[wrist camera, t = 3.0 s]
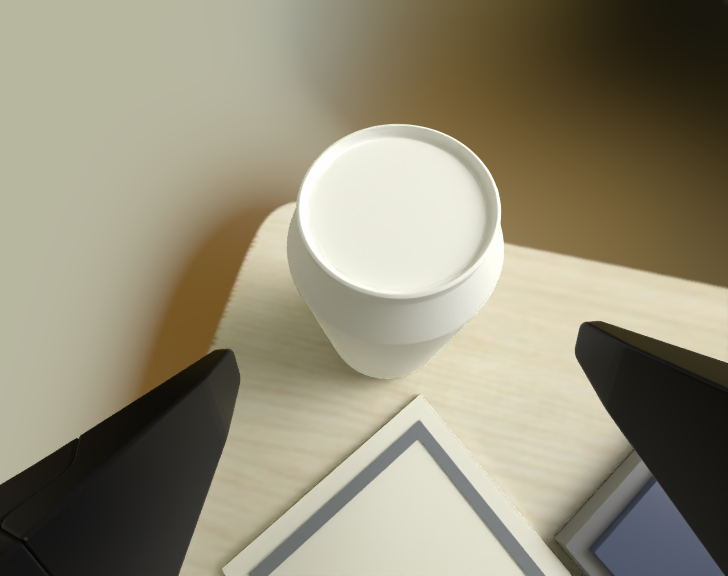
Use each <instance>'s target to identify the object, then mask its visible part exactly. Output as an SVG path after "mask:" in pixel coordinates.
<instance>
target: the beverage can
mask: <svg viewBox="0 0 728 576" xmlns="http://www.w3.org/2000/svg"><path fill="white" fill-rule="evenodd" d="M500 219H501V205H500V198H499V194H498V190H497V187H496V184H495V182H494V180H493V178H492V176H491V174H490V172H489V171H488V169H487V168H486V166H485V165H484V164H483V162H482V161H481V160H480V159H479V158H478V157H477V156H476V155H475V154H474V153H473V152H472V151H471V150H470V149H469V148H467V147H466V146H465V145H463V144H462V143H460V142H459V141H457V140H456V139H454V138H452V137H450V136H448V135H446V134H443V133H441V132H439V131H436V130H433V129H429V128H426V127H421V126H415V125H406V124H389V125H380V126H374V127H370V128H366V129H363V130H359V131H357V132H354V133H352V134H349V135H347V136H345V137H344V138H342V139H340V140H338V141H337V142H335V143H334V144H332V145H331V146H329V147H328V148H327V149H326V150H325V151H323V152H322V153H321V154H320V155H319V157H318V158H317V159H316V160H315V161H314V162H313V164H312V165H311V166H310V168H309V169H308V171H307V173H306V174H305V176H304V178H303V181H302V183H301V186H300V189H299V193H298V198H297V205H296V209H295V212H294V214H293V217H292V219H291V223H290V226H289V231H288V237H287V257H288V263H289V268H290V272H291V275H292V278H293V280H294V283H295V285H296V287H297V289H298V291H299V293H300V294H301V296H302V298H303V299H304V301H305V302H306V304H307V306H308V307H309V309H310V310H311V312H312V314H313V315H314V317H315V318H316V320H317V321H318V323H319V325H320V326H321V328H322V329H323V331H324V332H325V334H326V336H327V337H328V339H329V340H330V342H331V343H332V345H333V347H334V348H335V350H336V351H337V353H338V354H339V355H340V356H341V358H342V359H343V360H344V361H345V362H346V363H347V364H348V365H349V366H350V367H352V368H353V369H355V370H356V371H358V372H360V373H362V374H364V375H366V376H369V377H373V378H378V379H396V378H401V377H405V376H408V375H410V374H412V373H414V372H416V371H418V370H419V369H421V368H422V367H424V366H425V365H426V364H427V363H428V362H429V361H430V360H431V359H432V358H433V357H434V356H435V355H436V354H437V353H438V352H439V351H440V350H441V349H442V348H443V347H444V346H445V345H446V344H447V343H448V342H449V341H450V340H451V339H452V338H453V337H454V336H455V335H456V334H457V333H458V332H459V331H460V330H461V329H462V328H463V327H464V326H465V325H466V324H467V323H468V322H469V321H470V320H471V319H472V318H473V317H474V316H475V315H476V314H477V312H478V311H479V310H480V309H481V308H482V307H483V306H484V304H485V303H486V302H487V300H488V299H489V297H490V296H491V294H492V292H493V290H494V288H495V286H496V284H497V282H498V279H499V276H500V273H501V269H502V264H503V256H504V243H503V235H502V230H501V226H500Z"/></svg>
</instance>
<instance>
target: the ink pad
mask: <svg viewBox="0 0 728 576" xmlns="http://www.w3.org/2000/svg"><path fill="white" fill-rule="evenodd" d="M554 539H555V540H556V541H557V543H558V544H559V545H560V546H561V547H562V548H563V550H564V551H565V552H566V553H567V554H568V556H569V557H570V558H571V559H572V560H573V562H574V563H575V564H576V565H577V566H578V567H579V569H580V570H581V571H582V572H583V573H584V575H585V576H724V574H723V573H722V572H721V570H720V569H719V567H718V566H717V565H716V563H715V562H714V560H713V559H712V558H711V556H710V555H709V553H708V552H707V551H706V549H705V548H704V546H703V545H702V544H701V542H700V541H699V539H698V538H697V537H696V535H695V534H694V532H693V531H692V530H691V528H690V527H689V525H688V524H687V523H686V521H685V520H684V518H683V517H682V516H681V514H680V513H679V511H678V510H677V509H676V507H675V506H674V504H673V503H672V502H671V500H670V499H669V497H668V496H667V495H666V493H665V492H664V490H663V489H662V488H661V486H660V485H659V483H658V482H657V481H656V479H655V478H654V476H653V475H652V474H651V472H650V471H649V469H648V468H647V467H646V465H645V464H644V462H643V461H642V460H641V458H640V457H639V455H638V454H637V453H636V451H635V450H634V451H633V452H632V453H631V454H630V455H629V456H628V457H627V458H626V459H625V461H624V462H623V463H622V464H621V465H620V466H619V467H618V468H617V469H616V470H615V472H614V473H613V474H612V475H611V476H610V477H609V478H608V479H607V480H606V481H605V483H604V484H603V485H602V486H601V487H600V488H599V489H598V490H597V491H596V492H595V494H594V495H593V496H592V497H591V498H590V499H589V500H588V501H587V502H586V503H585V505H584V506H583V507H582V508H581V509H580V510H579V511H578V512H577V513H576V514H575V515H574V517H573V518H572V519H571V520H570V521H569V522H568V523H567V524H566V525H565V526H564V528H563V529H562V530H561V531H560V532H559V533H558V534H557V535H556V536H555V537H554Z"/></svg>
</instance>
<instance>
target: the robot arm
mask: <svg viewBox="0 0 728 576" xmlns="http://www.w3.org/2000/svg"><path fill="white" fill-rule="evenodd" d="M575 355H576V358H577V360H578V362H579V364H580V365H581V367H582V369H583V371H584V372H585V374H586V376H587V378H588V379H589V381H590V383H591V385H592V386H593V388H594V390H595V392H596V393H597V395H598V397H599V399H600V400H601V402H602V404H603V405H604V407H605V409H606V410H607V412H608V413H609V415H610V416H611V418H612V419H613V420H614V422H615V423H616V425H617V426H618V427H619V429H620V430H621V432H622V433H623V434H624V436H625V437H626V439H627V440H628V441H629V443H630V444H631V446H632V447H633V448H634V450H635V451H636V453H637V454H638V455H639V457H640V458H641V460H642V461H643V462H644V464H645V465H646V467H647V468H648V469H649V471H650V472H651V474H652V475H653V476H654V478H655V479H656V481H657V482H658V483H659V485H660V486H661V488H662V489H663V490H664V492H665V493H666V495H667V496H668V497H669V499H670V500H671V502H672V503H673V504H674V506H675V507H676V509H677V510H678V511H679V513H680V514H681V516H682V517H683V518H684V520H685V521H686V523H687V524H688V525H689V527H690V528H691V530H692V531H693V532H694V534H695V535H696V537H697V538H698V539H699V541H700V542H701V544H702V545H703V546H704V548H705V549H706V551H707V552H708V553H709V555H710V556H711V558H712V559H713V560H714V562H715V563H716V565H717V566H718V567H719V569H720V570H721V572H722V573H723V574H724V576H728V363H726V362H723V361H720V360H717V359H714V358H711V357H708V356H705V355H702V354H699V353H696V352H693V351H690V350H687V349H684V348H681V347H678V346H675V345H672V344H669V343H665V342H662V341H659V340H656V339H653V338H650V337H647V336H644V335H641V334H638V333H635V332H632V331H629V330H626V329H623V328H620V327H617V326H614V325H611V324H608V323H605V322H602V321H591V322H584V323H582V324H581V326H580V328H579V332H578V337H577V341H576V346H575ZM239 385H240V373H239V369H238V366H237V362H236V359H235V355H234V352H233V351H232V350H231V349H218V350H214V351H212V352H211V353H209V354H208V355H206V356H205V357H203V358H201V359H200V360H198V361H197V362H195V363H194V364H192V365H190V366H189V367H187V368H186V369H184V370H183V371H181V372H179V373H178V374H176V375H175V376H173V377H172V378H170V379H168V380H167V381H165V382H164V383H162V384H161V385H159V386H158V387H156V388H154V389H153V390H151V391H150V392H148V393H146V394H145V395H143V396H142V397H140V398H139V399H137V400H135V401H134V402H132V403H131V404H129V405H128V406H126V407H124V408H123V409H121V410H120V411H118V412H117V413H115V414H113V415H112V416H110V417H109V418H107V419H106V420H104V421H102V422H101V423H99V424H98V425H96V426H95V427H93V428H91V429H90V430H88V431H87V432H85V433H84V434H82V435H81V436H80V437H79V439H78V438H76V439H74V440H72V441H71V442H69V443H68V444H66V445H65V446H63V447H61V448H60V449H58V450H57V451H55V452H54V453H52V454H50V455H49V456H47V457H45V458H44V459H42V460H41V461H39V462H37V463H36V464H34V465H33V466H31V467H29V468H28V469H26V470H24V471H23V472H21V473H19V474H18V475H16V476H14V477H12V478H11V479H9V480H7V481H6V482H4V483H2V484H1V485H0V576H178V575H179V572H180V569H181V567H182V564H183V561H184V558H185V555H186V552H187V550H188V547H189V544H190V541H191V538H192V536H193V533H194V530H195V527H196V524H197V521H198V519H199V516H200V513H201V510H202V507H203V504H204V502H205V499H206V496H207V493H208V490H209V488H210V485H211V482H212V479H213V476H214V473H215V471H216V468H217V465H218V462H219V459H220V457H221V454H222V451H223V448H224V445H225V442H226V439H227V436H228V432H229V428H230V424H231V420H232V415H233V411H234V407H235V402H236V398H237V394H238V389H239Z"/></svg>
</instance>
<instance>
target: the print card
mask: <svg viewBox="0 0 728 576" xmlns="http://www.w3.org/2000/svg"><path fill="white" fill-rule="evenodd" d="M222 570H223V572H224V574H225V576H572V575H571V574H570V573H569V572H568V570H567V569H566V568H565V567H564V566H563V564H562V563H561V562H560V561H559V559H558V558H557V557H556V556H555V555H554V553H553V552H552V551H551V550H550V549H549V547H548V546H547V545H546V544H545V543H544V541H543V540H542V539H541V538H540V537H539V535H538V534H537V533H536V532H535V531H534V529H533V528H532V527H531V526H530V525H529V523H528V522H527V521H526V520H525V519H524V517H523V516H522V515H521V514H520V513H519V511H518V510H517V509H516V508H515V507H514V505H513V504H512V503H511V502H510V501H509V499H508V498H507V497H506V496H505V495H504V493H503V492H502V491H501V490H500V489H499V487H498V486H497V485H496V484H495V483H494V481H493V480H492V479H491V478H490V476H489V475H488V474H487V473H486V472H485V470H484V469H483V468H482V467H481V466H480V464H479V463H478V462H477V461H476V460H475V458H474V457H473V456H472V455H471V454H470V452H469V451H468V450H467V449H466V448H465V446H464V445H463V444H462V443H461V442H460V440H459V439H458V438H457V437H456V436H455V434H454V433H453V432H452V431H451V430H450V428H449V427H448V426H447V425H446V424H445V422H444V421H443V420H442V419H441V418H440V416H439V415H438V414H437V413H436V412H435V410H434V409H433V408H432V407H431V406H430V404H429V403H428V402H427V401H426V400H425V398H424V397H423V396H422V395H421V394H420V395H419V396H417V397H416V398H415V399H414V400H413V401H412V402H411V403H409V404H408V405H407V406H406V407H405V408H404V409H403V410H401V411H400V412H399V413H398V414H397V415H396V416H395V417H394V418H392V419H391V420H390V421H389V422H388V423H387V424H386V425H384V426H383V427H382V428H381V429H380V430H379V431H378V432H376V433H375V434H374V435H373V436H372V437H371V438H370V439H369V440H367V441H366V442H365V443H364V444H363V445H362V446H361V447H359V448H358V449H357V450H356V451H355V452H354V453H353V454H351V455H350V456H349V457H348V458H347V459H346V460H345V461H344V462H342V463H341V464H340V465H339V466H338V467H337V468H336V469H334V470H333V471H332V472H331V473H330V474H329V475H328V476H326V477H325V478H324V479H323V480H322V481H321V482H320V483H319V484H317V485H316V486H315V487H314V488H313V489H312V490H311V491H309V492H308V493H307V494H306V495H305V496H304V497H303V498H301V499H300V500H299V501H298V502H297V503H296V504H295V505H294V506H292V507H291V508H290V509H289V510H288V511H287V512H286V513H284V514H283V515H282V516H281V517H280V518H279V519H278V520H276V521H275V522H274V523H273V524H272V525H271V526H270V527H269V528H267V529H266V530H265V531H264V532H263V533H262V534H261V535H259V536H258V537H257V538H256V539H255V540H254V541H253V542H251V543H250V544H249V545H248V546H247V547H246V548H245V549H244V550H242V551H241V552H240V553H239V554H238V555H237V556H236V557H234V558H233V559H232V560H231V561H230V562H229V563H228V564H226V565H225V566H224V567H223V568H222Z"/></svg>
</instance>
